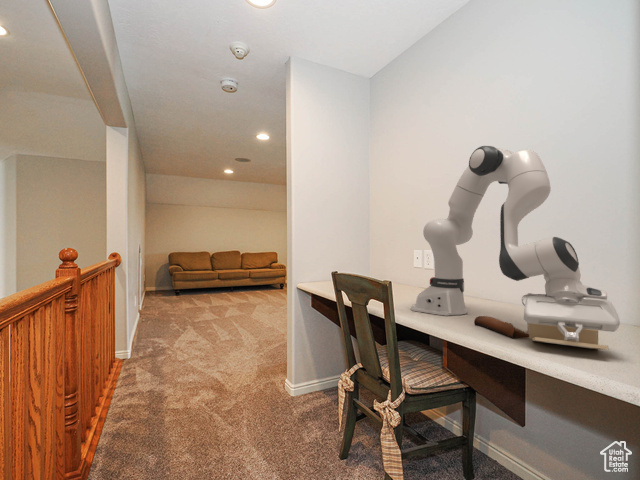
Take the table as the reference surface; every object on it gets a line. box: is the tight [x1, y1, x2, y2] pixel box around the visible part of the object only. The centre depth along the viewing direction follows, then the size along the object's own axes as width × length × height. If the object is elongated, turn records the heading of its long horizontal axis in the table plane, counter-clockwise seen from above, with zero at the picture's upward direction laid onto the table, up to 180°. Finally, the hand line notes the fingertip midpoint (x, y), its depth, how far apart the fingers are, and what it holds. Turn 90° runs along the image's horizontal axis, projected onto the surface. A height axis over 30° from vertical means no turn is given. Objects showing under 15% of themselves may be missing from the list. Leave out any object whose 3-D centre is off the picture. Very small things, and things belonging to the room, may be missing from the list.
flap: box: [531, 337, 609, 350], centre depth 88 cm, size 15×1×12 cm
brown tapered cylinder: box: [473, 315, 530, 340], centre depth 106 cm, size 18×7×7 cm
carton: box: [527, 323, 599, 345], centre depth 97 cm, size 16×9×5 cm, turn 60°
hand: (571, 340), depth 82 cm, fingers closed, pressing on flap
